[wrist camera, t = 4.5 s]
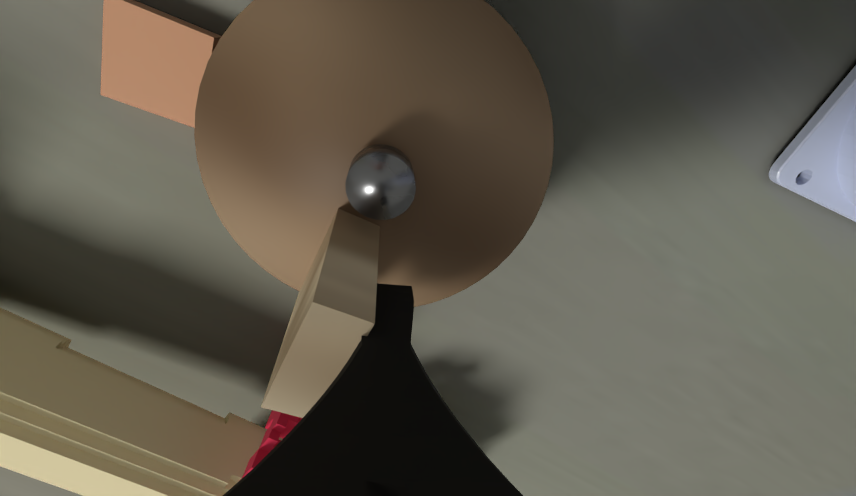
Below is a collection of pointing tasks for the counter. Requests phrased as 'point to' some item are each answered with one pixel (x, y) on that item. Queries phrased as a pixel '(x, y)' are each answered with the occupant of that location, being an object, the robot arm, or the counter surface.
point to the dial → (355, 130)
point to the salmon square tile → (153, 59)
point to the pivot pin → (380, 182)
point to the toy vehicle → (114, 425)
